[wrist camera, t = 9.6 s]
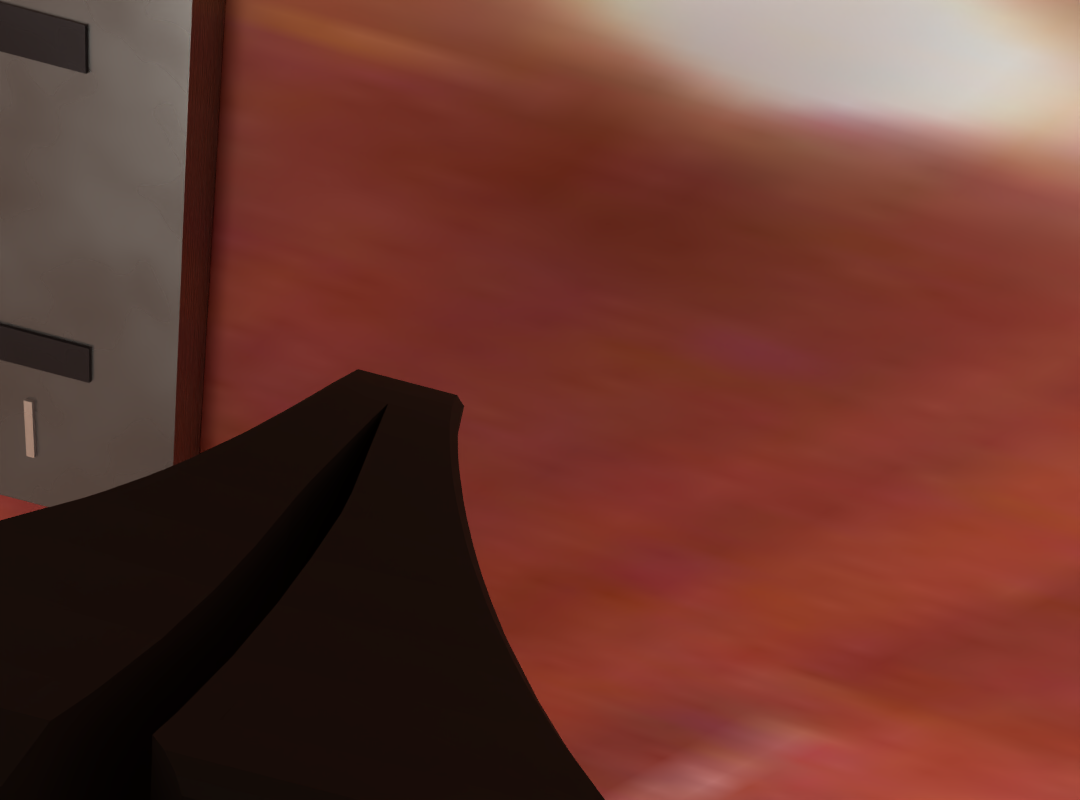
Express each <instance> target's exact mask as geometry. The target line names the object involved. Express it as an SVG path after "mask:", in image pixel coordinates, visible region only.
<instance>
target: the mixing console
mask: <svg viewBox="0 0 1080 800" xmlns="http://www.w3.org/2000/svg"><path fill="white" fill-rule="evenodd" d="M224 16H225V0H0V494H1V495H4V496H8V497H12V498H16V499H20V500H24V501H28V502H31V503H35V504H39V505H43V506H47V507H52V506H55V505H59V504H62V503H66V502H70V501H73V500H77V499H81V498H84V497H87V496H91V495H94V494H97V493H100V492H103V491H106V490H109V489H112V488H114V487H117V486H120V485H123V484H126V483H129V482H131V481H134V480H137V479H140V478H143V477H146V476H148V475H151V474H153V473H156V472H158V471H161V470H163V469H166V468H169V467H171V466H173V465H176V464H178V463H181V462H183V461H185V460H188V459H190V458H192V457H194V456H196V455H198V454H199V448H200V431H201V414H202V396H203V379H204V362H205V345H206V327H207V310H208V293H209V275H210V258H211V241H212V223H213V206H214V189H215V172H216V154H217V137H218V120H219V102H220V85H221V68H222V50H223V33H224Z"/></svg>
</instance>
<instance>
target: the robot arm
mask: <svg viewBox="0 0 1080 800" xmlns="http://www.w3.org/2000/svg"><path fill="white" fill-rule="evenodd" d="M463 408H464V405H463V404H462V402H461V401H460V399H459V398H458V396H457V395H454V394H451V393H447V392H443V391H439V390H435V389H431V388H428V387H424V386H420V385H416V384H412V383H409V382H405V381H401V380H397V379H393V378H389V377H386V376H382V375H378V374H374V373H370V372H366V371H363V370H359V369H358V370H356V371H354V372H352V373H350V374H348V375H347V376H345V377H343V378H341V379H339V380H337V381H336V382H334V383H332V384H330V385H329V386H327V387H325V388H324V389H322V390H320V391H318V392H317V393H315V394H313V395H312V396H310V397H308V398H306V399H305V400H303V401H301V402H299V403H298V404H296V405H294V406H293V407H291V408H289V409H287V410H286V411H284V412H282V413H280V414H278V415H276V416H275V417H273V418H271V419H269V420H267V421H265V422H263V423H262V424H260V425H258V426H256V427H254V428H252V429H251V430H249V431H247V432H245V433H243V434H241V435H238V436H236V437H234V438H232V439H230V440H228V441H226V442H224V443H222V444H219V445H217V446H215V447H213V448H211V449H209V450H207V451H205V452H202V453H200V454H198V455H196V456H194V457H192V458H190V459H188V460H185V461H183V462H181V463H178V464H176V465H173V466H171V467H169V468H166V469H163V470H161V471H158V472H156V473H153V474H151V475H148V476H146V477H143V478H140V479H137V480H134V481H131V482H129V483H126V484H123V485H120V486H117V487H114V488H112V489H109V490H106V491H103V492H100V493H97V494H94V495H91V496H87V497H84V498H81V499H77V500H73V501H70V502H66V503H62V504H59V505H55V506H52V507H48V508H44V509H41V510H37V511H33V512H30V513H26V514H22V515H19V516H15V517H11V518H8V519H4V520H1V521H0V800H605V799H604V798H603V797H602V795H601V794H600V793H599V791H598V790H597V789H596V787H595V786H594V784H593V783H592V782H591V780H590V779H589V778H588V776H587V775H586V774H585V772H584V771H583V770H582V768H581V767H580V766H579V764H578V763H577V761H576V760H575V759H574V757H573V756H572V754H571V753H570V751H569V750H568V748H567V747H566V745H565V744H564V742H563V741H562V739H561V737H560V736H559V734H558V733H557V731H556V729H555V728H554V726H553V724H552V723H551V721H550V719H549V718H548V716H547V714H546V713H545V711H544V710H543V708H542V706H541V705H540V703H539V701H538V699H537V697H536V696H535V694H534V692H533V690H532V688H531V686H530V684H529V682H528V680H527V678H526V676H525V674H524V672H523V670H522V668H521V666H520V664H519V662H518V660H517V658H516V656H515V654H514V652H513V651H512V649H511V647H510V645H509V643H508V641H507V639H506V636H505V634H504V632H503V629H502V627H501V624H500V622H499V620H498V617H497V615H496V612H495V610H494V607H493V605H492V602H491V600H490V597H489V594H488V591H487V588H486V585H485V583H484V580H483V577H482V574H481V571H480V567H479V564H478V561H477V557H476V554H475V550H474V547H473V543H472V539H471V534H470V530H469V526H468V522H467V517H466V512H465V507H464V502H463V495H462V488H461V480H460V473H459V463H458V431H459V426H460V422H461V417H462V413H463Z"/></svg>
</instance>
